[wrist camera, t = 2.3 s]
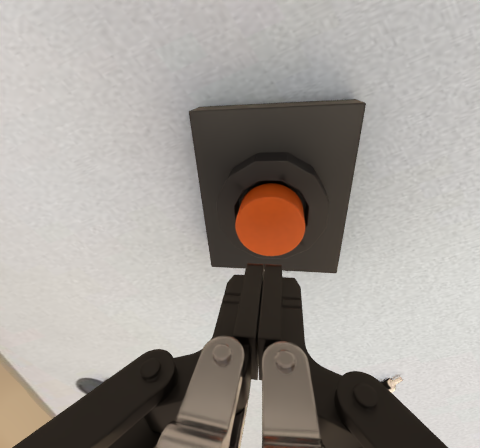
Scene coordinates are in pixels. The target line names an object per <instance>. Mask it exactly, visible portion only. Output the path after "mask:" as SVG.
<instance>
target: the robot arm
mask: <svg viewBox="0 0 480 448" xmlns="http://www.w3.org/2000/svg"><path fill="white" fill-rule="evenodd" d="M258 367H259V380H262V448H448V447H447V446H446V445H445V444H444V443H443V442H442V441H441V440H440V439H439V438H438V437H437V436H436V435H434V434H433V433H432V432H431V431H430V430H429V429H428V428H427V427H426V426H425V425H424V424H423V423H422V422H421V421H420V420H419V419H418V418H417V417H416V416H415V415H414V414H413V413H412V412H411V411H410V410H409V409H408V408H407V407H406V406H404V405H403V404H402V403H401V402H400V401H399V400H398V399H397V398H396V397H395V396H394V395H393V394H392V393H391V392H390V391H389V390H388V389H387V388H386V387H385V386H384V385H383V384H382V383H381V382H379V381H378V380H377V379H376V378H374V377H373V376H371V375H369V374H366V373H363V372H358V371H353V372H348V373H346V374H344V375H343V376H342V375H339V374H337V373H335V372H332V371H330V370H328V369H326V368H324V367H322V366H320V365H319V364H317V363H316V362H315V361H314V360H313V359H312V358H311V356H310V355H309V354H308V352H307V349H306V346H305V339H304V326H303V314H302V301H301V288H300V286H299V284H298V283H297V281H296V279H295V278H286V277H282V265H272V264H265V270H264V264H249V263H247V265H246V270H245V275H234V276H233V277H232V278H231V279H230V280H229V282H228V283H227V286H226V290H225V295H224V297H223V301H222V304H221V308H220V312H219V315H218V319H217V323H216V327H215V330H214V334H213V337H212V339H211V340H210V341H209V342H207V344H206V345H205V346H204V347H203V349H202V350H200V351H198V352H196V353H194V354H190V355H186V356H181V357H177V358H173V357H172V355H171V354H170V353H169V352H167V351H165V350H161V349H156V350H151V351H148V352H146V353H144V354H143V355H141V356H140V357H138V358H137V359H136V360H134V361H133V362H131V363H130V364H129V365H127V366H126V367H124V368H123V369H122V370H120V371H119V372H117V373H116V374H115V375H113V376H112V377H110V378H109V379H108V380H106V381H105V382H103V383H102V384H101V385H99V386H98V387H96V388H95V389H94V390H92V391H91V392H89V393H88V394H87V395H85V396H84V397H82V398H81V399H80V400H78V401H77V402H75V403H74V404H73V405H71V406H70V407H68V408H67V409H66V410H64V411H63V412H61V413H60V414H59V415H57V416H56V417H54V418H53V419H52V420H50V421H49V422H47V423H46V424H45V425H43V426H42V427H41V428H39V429H38V430H36V431H35V432H34V433H32V434H31V435H29V436H28V437H27V438H25V439H24V440H22V441H21V442H20V443H18V444H17V445H15V446H14V447H13V448H240V446H241V440H242V434H243V429H244V423H245V417H246V412H247V406H248V399H249V392H250V383H251V379H254V380H257V379H258Z"/></svg>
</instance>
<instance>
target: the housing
mask: <svg viewBox="0 0 480 448" xmlns="http://www.w3.org/2000/svg"><path fill="white" fill-rule="evenodd" d="M365 105H366V104H365V103H364V102H361V101H359V100H356V99H351V100H331V101H310V102H290V103H270V104H249V105H229V106H209V107H198V108H196V109H193V110H191V111H189V116H190V123H191V130H192V136H193V143H194V150H195V157H196V164H197V170H198V177H199V184H200V191H201V198H202V204H203V211H204V218H205V225H206V232H207V238H208V245H209V252H210V259H211V266H212V267H229V268H246V265H247V263H249V264H264V269H265V264H272V265H282V270H285V271H304V272H323V273H337V267H338V262H339V256H340V250H341V244H342V238H343V233H344V227H345V221H346V215H347V210H348V204H349V198H350V192H351V186H352V181H353V175H354V169H355V163H356V157H357V152H358V146H359V140H360V134H361V128H362V123H363V117H364V111H365ZM267 183H276V184H281V185H284V186H286V187H288V188H290V189H291V190H293V191H294V192H295V193H296V194H297V195H298V197H299V198H300V200H301V202H302V205H303V212H304V219H305V233H304V236H303V238H302V240H301V242H300V243H299V244H298V245H297V247H295V248H294V249H293V250H291V251H290V252H288V253H285V254H282V255H278V256H265V255H260V254H257V253H255V252H253V251H251V250H249V249H248V248H247V247H245V246H244V245H243V243H242V242H241V241H240V239H239V238H238V235H237V233H236V228H235V222H236V217H237V214H238V211H239V208H240V205H241V202H242V200H243V198H244V196H245V195H246V194H247V193H248V192H249V191H250V190H251V189H253V188H254V187H256V186H259V185H262V184H267Z"/></svg>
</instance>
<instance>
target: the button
mask: <svg viewBox="0 0 480 448" xmlns="http://www.w3.org/2000/svg"><path fill="white" fill-rule="evenodd" d="M235 228H236V233H237V235H238V238H239V239H240V241H241V242H242V243H243V245H244V246H245V247H247V248H248V249H249V250H251V251H253V252H255V253H257V254H260V255H265V256H278V255H282V254H285V253H288V252H290V251H291V250H293V249H294V248H295V247H297V245H298V244H299V243H300V242H301V240H302V238H303V236H304V233H305V219H304V212H303V205H302V202H301V200H300V198H299V197H298V195H297V194H296V193H295V192H294V191H293V190H291V189H290V188H288V187H286V186H284V185H281V184H276V183H267V184H262V185H259V186H256V187H254V188H253V189H251V190H250V191H249V192H248V193H247V194H246V195H245V196H244V198H243V200H242V202H241V205H240V208H239V211H238V214H237V217H236V222H235Z"/></svg>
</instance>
